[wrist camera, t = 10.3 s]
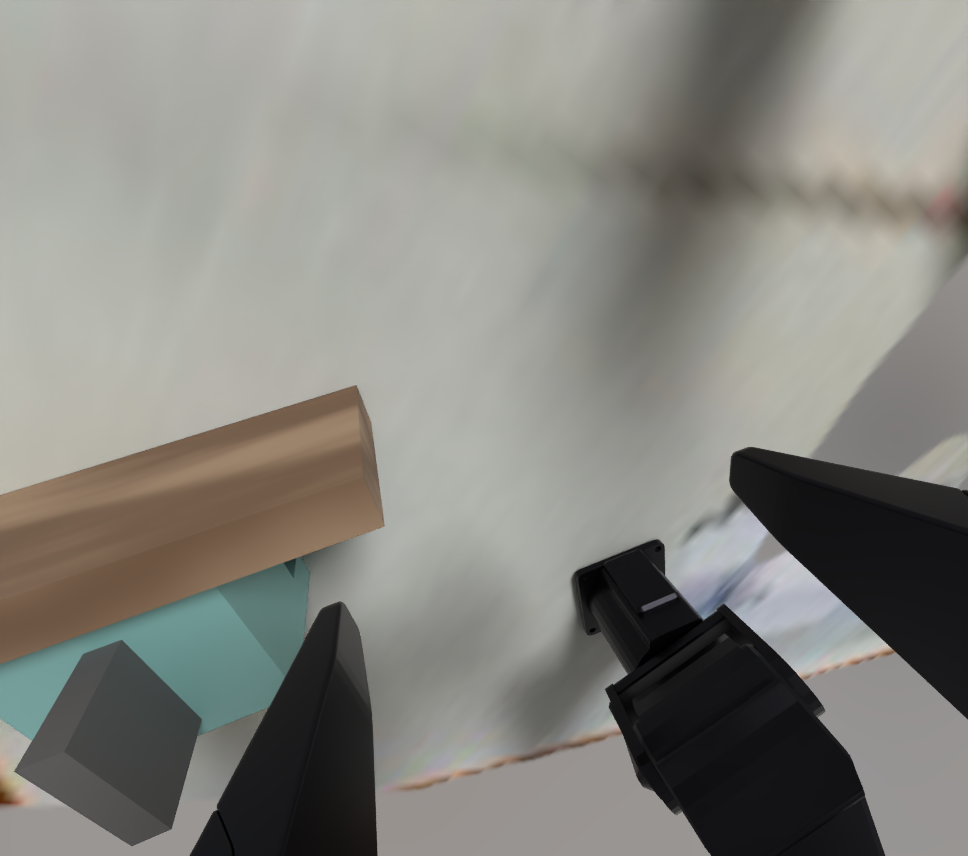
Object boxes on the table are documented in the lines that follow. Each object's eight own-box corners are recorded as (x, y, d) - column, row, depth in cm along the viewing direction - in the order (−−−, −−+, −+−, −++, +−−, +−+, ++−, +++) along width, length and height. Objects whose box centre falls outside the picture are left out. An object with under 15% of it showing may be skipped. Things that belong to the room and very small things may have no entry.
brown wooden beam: (400, 497, 23) (424, 617, 16) (-16, 642, 21) (-197, 862, 14) (356, 385, 20) (363, 477, 13) (-144, 539, 17) (-466, 758, 10)
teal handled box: (309, 572, 24) (289, 793, 15) (155, 629, 23) (32, 905, 14) (252, 475, 21) (181, 682, 12) (69, 536, 20) (-166, 817, 11)
